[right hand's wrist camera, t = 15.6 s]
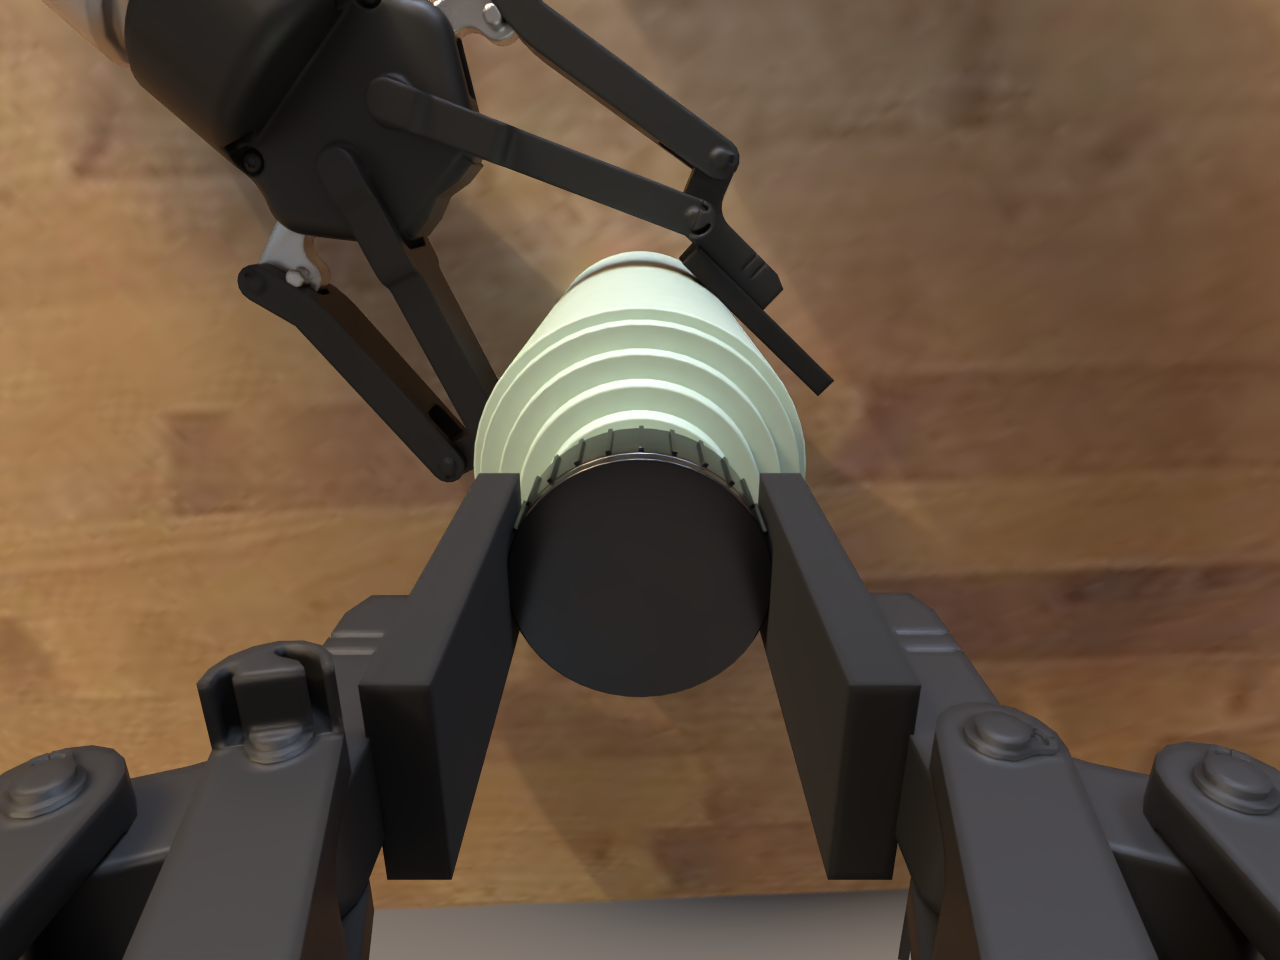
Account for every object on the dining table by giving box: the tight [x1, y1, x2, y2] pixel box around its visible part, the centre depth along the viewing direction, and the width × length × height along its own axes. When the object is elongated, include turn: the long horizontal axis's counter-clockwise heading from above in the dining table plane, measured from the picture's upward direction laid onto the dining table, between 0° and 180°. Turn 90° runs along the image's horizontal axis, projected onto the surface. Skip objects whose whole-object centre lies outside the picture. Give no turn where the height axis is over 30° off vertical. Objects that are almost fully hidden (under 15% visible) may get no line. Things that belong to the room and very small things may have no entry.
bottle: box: [474, 251, 806, 504], centre depth 24 cm, size 8×8×22 cm
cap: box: [507, 426, 772, 697], centre depth 14 cm, size 5×5×2 cm
